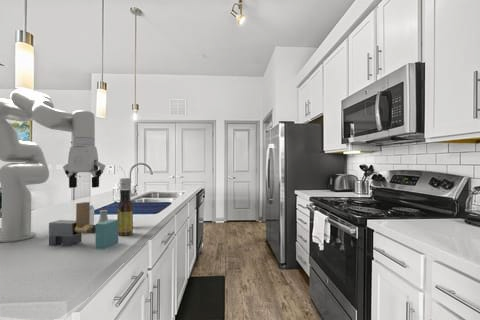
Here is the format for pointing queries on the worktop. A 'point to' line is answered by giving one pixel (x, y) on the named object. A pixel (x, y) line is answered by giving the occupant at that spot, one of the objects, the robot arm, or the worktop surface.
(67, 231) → the sleeve
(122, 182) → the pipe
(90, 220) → the can
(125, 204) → the sauce bottle
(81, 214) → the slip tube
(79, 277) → the worktop surface
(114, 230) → the socket block
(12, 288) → the worktop surface
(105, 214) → the flask
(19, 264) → the worktop surface
